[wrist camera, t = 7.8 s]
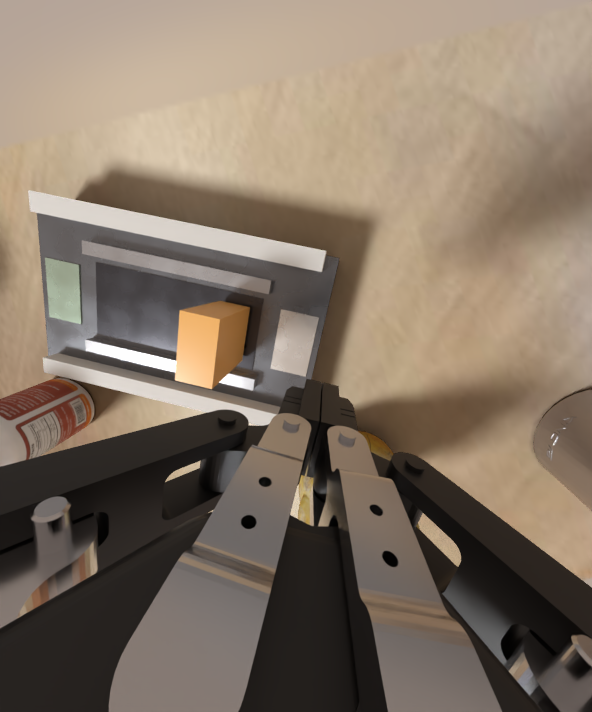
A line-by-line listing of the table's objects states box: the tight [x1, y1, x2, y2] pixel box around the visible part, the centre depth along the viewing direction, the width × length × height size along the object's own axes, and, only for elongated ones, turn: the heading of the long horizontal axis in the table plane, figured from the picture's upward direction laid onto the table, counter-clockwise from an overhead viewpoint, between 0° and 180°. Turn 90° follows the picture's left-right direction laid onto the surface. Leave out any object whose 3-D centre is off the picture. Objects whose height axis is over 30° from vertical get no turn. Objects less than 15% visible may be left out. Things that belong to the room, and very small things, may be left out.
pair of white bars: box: [28, 190, 327, 426], centre depth 22 cm, size 22×14×1 cm, turn 79°
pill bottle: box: [0, 378, 94, 467], centre depth 25 cm, size 6×6×11 cm
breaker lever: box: [175, 301, 250, 389], centre depth 19 cm, size 2×4×6 cm, turn 169°
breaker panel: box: [37, 213, 339, 407], centre depth 24 cm, size 24×14×4 cm, turn 79°
